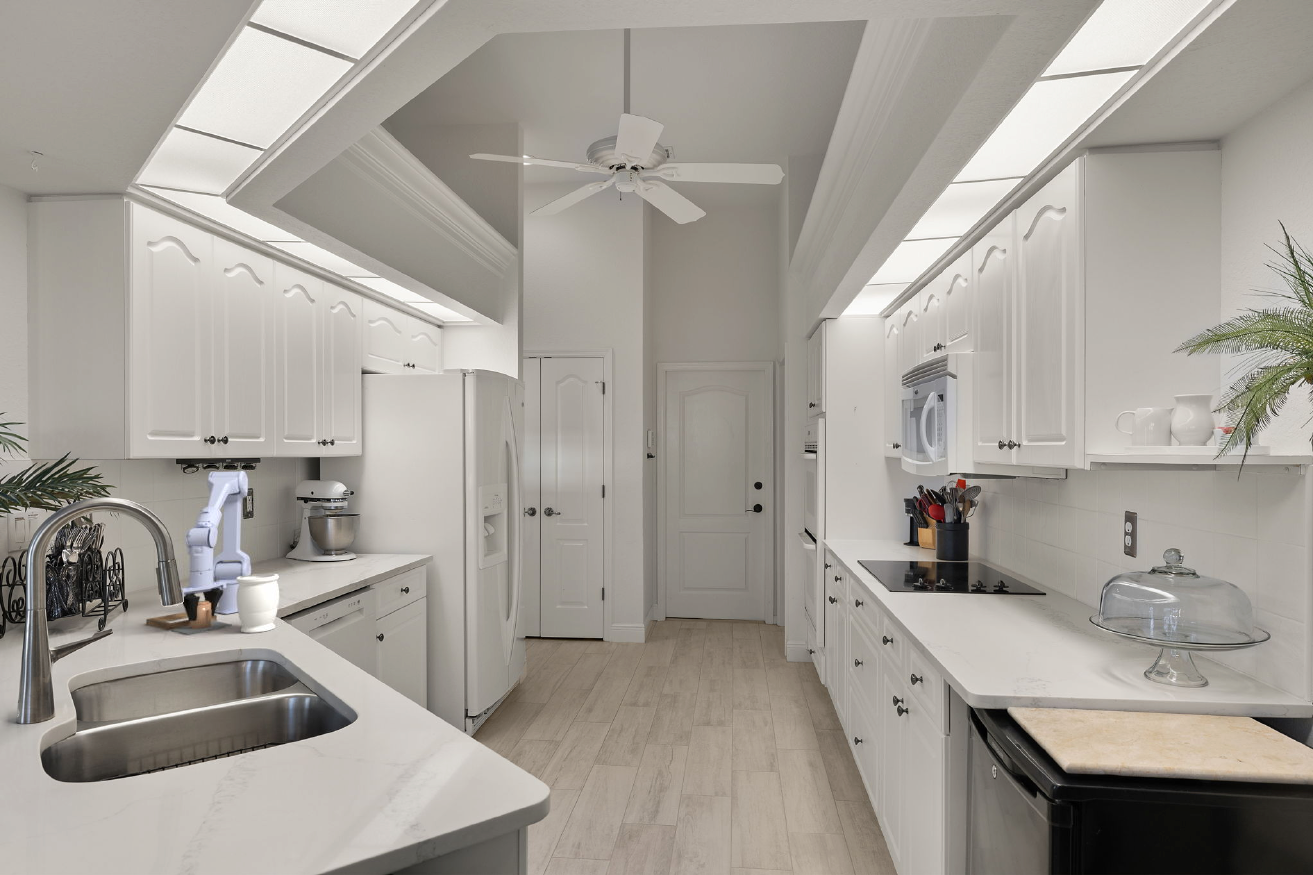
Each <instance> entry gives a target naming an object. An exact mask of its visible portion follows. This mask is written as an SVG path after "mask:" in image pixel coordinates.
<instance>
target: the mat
mask: <svg viewBox="0 0 1313 875" xmlns="http://www.w3.org/2000/svg"><path fill="white" fill-rule="evenodd" d="M232 624H233V623H232ZM232 624H231V623H227V622H222V621H218V620H217V621H212V622H211V626H210V627H207V628H202V629H190V626H186V627H181V628H176V629H171V630H170V631H171V632H174V633H178V634H180V635H181V634H182V635H186V636H188V635H189V636H190V635H193V634H199V633H204V632H207V631H208V632H209V631H213V630H218V629H223V628H227V627H232V626H233V625H232Z"/></svg>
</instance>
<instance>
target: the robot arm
mask: <svg viewBox="0 0 1313 875" xmlns="http://www.w3.org/2000/svg"><path fill="white" fill-rule="evenodd" d="M206 483H207V484H206V485H207V488H208V491H209V496H208V499H207V504H206V506H205V507H203V508H201V510H200V511H199V513H198V516H197V518H196V521H195V524H194V525H193V527H192V528H190V529H189V530H188V531H187V532H186V535H185V545H186V548H187V554H188V555H189V585H188V586H185V587H183V588H181V589H182V590H183V596H184V602H183V604H182V605H183V608H184V609H185V612H187V616H188V618H187V620H189V621H196V619H197V607H198V602H199V601H200V599H201V596H198V595H196V594H201V593H203V594H202V595H203V598H204V601H209V602H211V610H212V616H214V615H216V614H215V613H218V614H224V615H228V614H233V613H238V608H237V589H238V586H239V583H238V582H237V577H240V576H245V575H252V574H251V573H252V566H251V564H252V563H251V558H250V556H249V555H248V554H247V553H246V552H244V551H243V550H241V534H242V533H241V528H242V527H241V526H242V523H241V522H242V502H243V501H242V500H243V498H246V497H247V496H248V490H249V479H248V475H247V473H246V471H245V470H240V471H238V470H237V471H215V470H214V471H210V472H209V473H208V475H207V480H206ZM222 506H223V514H222V512H221V508H222ZM222 517H223V519H222ZM221 520H223V522H222V523H223V524H222V526H223V527H222V552H220V553H218V554H217V555H216V556H215V557H214V547H215V546H216V545H217V543H218V542H217V541H218V533H219V531H218V528H219V525H220V522H221ZM217 607H218V608H217Z"/></svg>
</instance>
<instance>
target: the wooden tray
mask: <svg viewBox="0 0 1313 875" xmlns="http://www.w3.org/2000/svg"><path fill="white" fill-rule="evenodd" d="M217 617H218V616H217V614H214V616H212V618H211V622H212V621H218V619H217ZM182 619H183V620H182ZM177 620H178V621H177ZM179 620H180V621H179ZM145 621H146V622H145V623H146V624H145V625H147V626H151V627H154V628H160V629H163V630H168V631H171V629H176V628H181V627H186V626H190V621H189V619H188V616H187V612H186V611H183V612H178V613H172V614H165V615H162V616H155V617H150V618H146V619H145ZM172 621H174V622H172Z"/></svg>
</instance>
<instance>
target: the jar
mask: <svg viewBox="0 0 1313 875" xmlns="http://www.w3.org/2000/svg"><path fill="white" fill-rule="evenodd" d="M279 577H280V575H279V574H277V573H254V574H253V573H252V574H251V575H245V576H240V577H237V582H238V583H239V586H238V589H237V608H238V612H237V613H238V618H239V621H240V623H241V624H242V627H241V628H240V632H242V633H246V634H255V633H256V634H257V633H264V632H265V633H266V632H269V631H272V630H274V629H275V628H276V625H275V624H274V621H275V619H276V617H277V613H278V608H279V602H280V591H279V590H280V589H279V584H278V579H279Z"/></svg>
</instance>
